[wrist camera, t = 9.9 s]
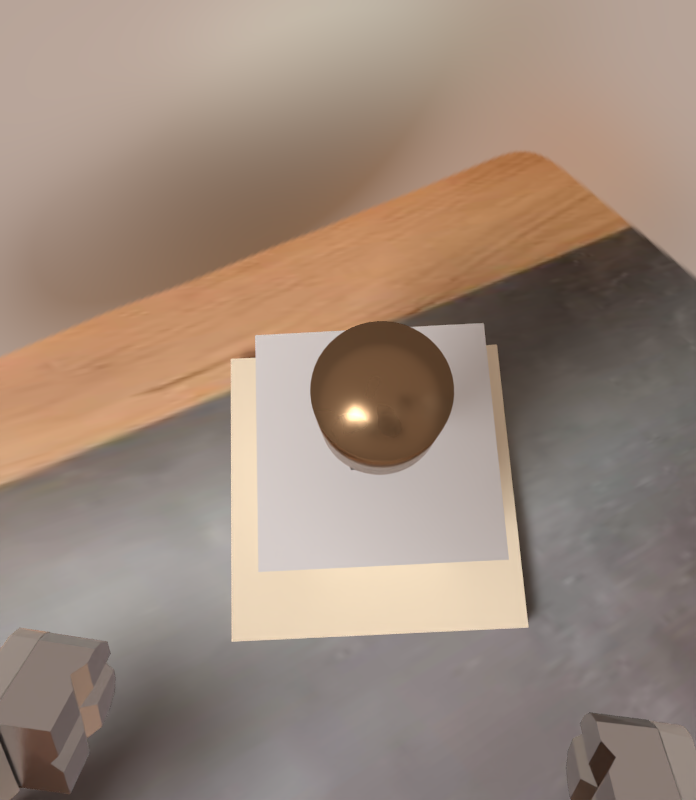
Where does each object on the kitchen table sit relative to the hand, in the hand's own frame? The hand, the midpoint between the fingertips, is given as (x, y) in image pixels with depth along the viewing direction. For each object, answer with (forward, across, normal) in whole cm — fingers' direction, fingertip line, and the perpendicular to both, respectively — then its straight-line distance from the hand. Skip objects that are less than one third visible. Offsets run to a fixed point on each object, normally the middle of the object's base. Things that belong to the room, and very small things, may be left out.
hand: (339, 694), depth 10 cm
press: (+25, 0, +16) cm, 30 cm away
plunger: (+20, 0, +11) cm, 23 cm away
